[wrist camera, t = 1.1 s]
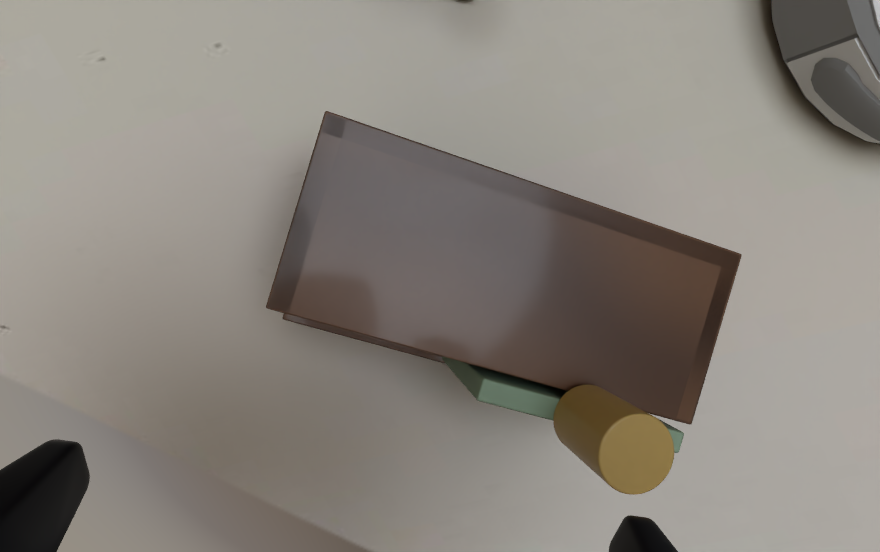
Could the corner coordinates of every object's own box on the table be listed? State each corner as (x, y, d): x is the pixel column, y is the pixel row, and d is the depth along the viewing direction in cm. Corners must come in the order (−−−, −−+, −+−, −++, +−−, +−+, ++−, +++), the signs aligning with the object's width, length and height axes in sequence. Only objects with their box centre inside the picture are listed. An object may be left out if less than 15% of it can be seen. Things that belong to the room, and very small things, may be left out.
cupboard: (587, 400, 28) (682, 458, 20) (284, 317, 25) (253, 346, 17) (631, 253, 28) (742, 254, 20) (333, 155, 25) (325, 109, 17)
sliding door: (587, 415, 27) (742, 522, 16) (436, 375, 25) (498, 463, 15) (600, 369, 27) (765, 446, 16) (450, 327, 25) (522, 380, 15)
